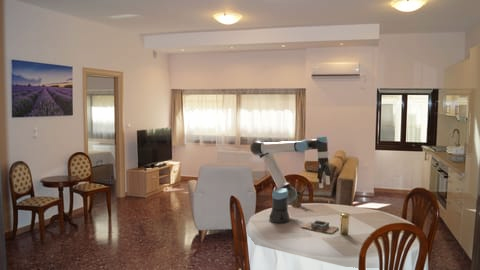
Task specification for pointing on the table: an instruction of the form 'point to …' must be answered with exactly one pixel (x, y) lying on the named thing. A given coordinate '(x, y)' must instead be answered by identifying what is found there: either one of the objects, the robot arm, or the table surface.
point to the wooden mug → (298, 198)
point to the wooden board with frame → (320, 227)
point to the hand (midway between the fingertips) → (324, 186)
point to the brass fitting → (344, 223)
